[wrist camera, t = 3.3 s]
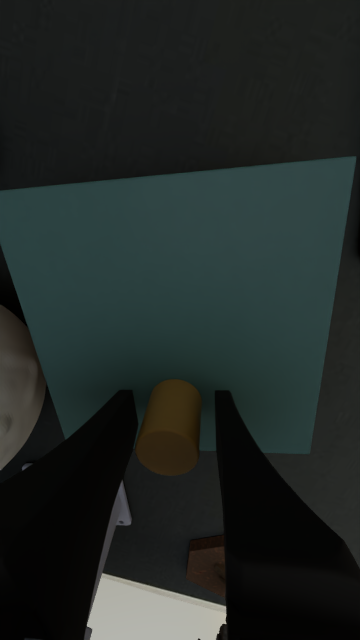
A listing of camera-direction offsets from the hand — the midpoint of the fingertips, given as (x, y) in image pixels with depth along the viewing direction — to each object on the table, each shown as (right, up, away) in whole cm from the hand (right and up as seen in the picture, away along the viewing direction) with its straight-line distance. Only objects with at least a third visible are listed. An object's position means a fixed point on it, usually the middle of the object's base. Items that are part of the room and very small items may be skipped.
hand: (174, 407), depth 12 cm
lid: (0, +3, 0) cm, 3 cm away
